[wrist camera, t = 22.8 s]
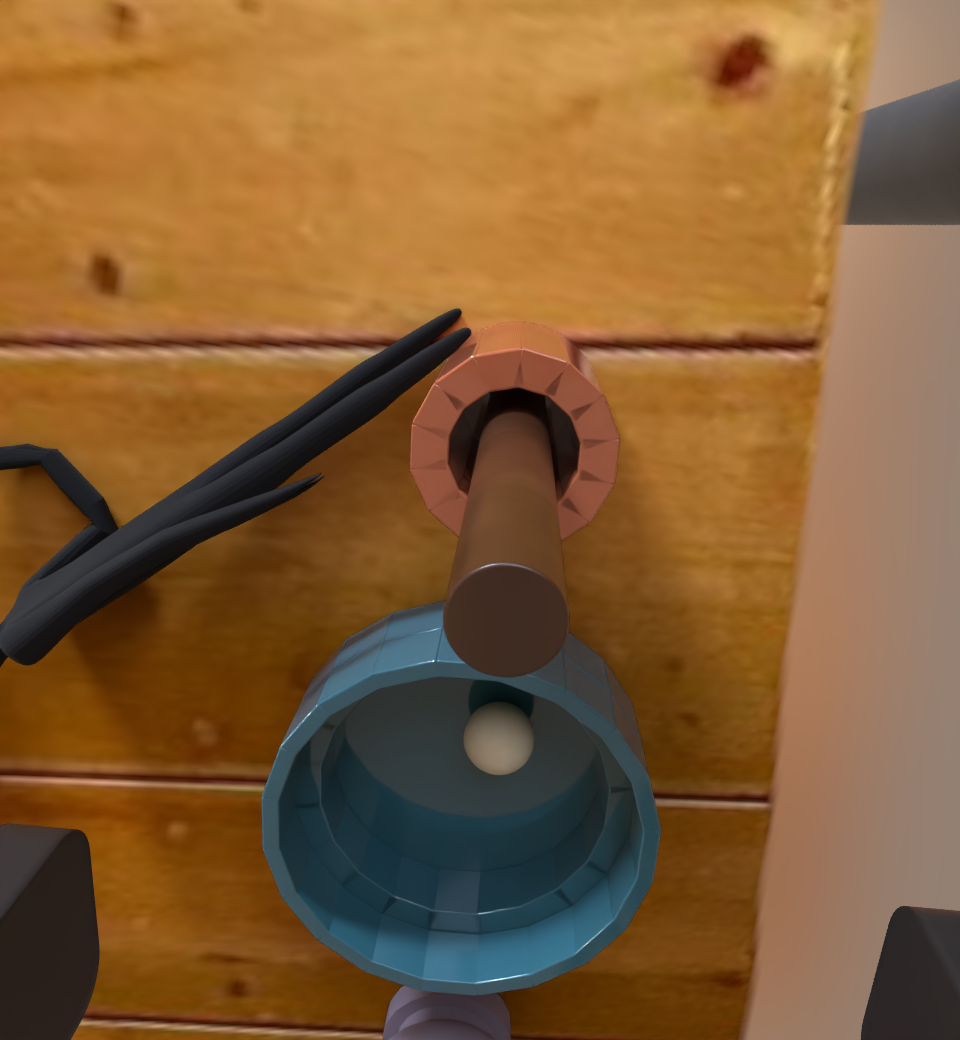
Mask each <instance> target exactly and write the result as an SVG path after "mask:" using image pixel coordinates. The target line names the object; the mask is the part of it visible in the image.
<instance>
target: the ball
mask: <svg viewBox="0 0 960 1040" xmlns="http://www.w3.org/2000/svg"><path fill="white" fill-rule="evenodd" d="M534 743H535V734H534V729H533V726H532V723H531V721H530V719H529V718H528V716H527V715H526V714H525V713H524V712H523V711H522V710H521V709H520V708H518V707H517V706H515V705H513V704H510V703H507V702H492V703H488V704H485V705H483V706H481V707H480V708H478V709H477V710H476V711H475V712H474V713H473V714H472V715H471V716H470V718H469V719H468V721H467V723H466V726H465V730H464V747H465V750H466V753H467V755H468V757H469V759H470V760H471V761H472V763H473V764H474V765H475V766H477V767H478V768H479V769H481V770H482V771H484V772H486V773H489V774H493V775H506V774H510V773H512V772H515V771H516V770H518V769H520V768H521V767H522V766H523V765H524V764H525V763H526V762H527V761H528V759H529V758H530V756H531V754H532V751H533V748H534Z"/></svg>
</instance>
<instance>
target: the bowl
mask: <svg viewBox="0 0 960 1040" xmlns="http://www.w3.org/2000/svg"><path fill="white" fill-rule="evenodd" d="M444 605H445V601H443V602H438V603H433V604H429V605H424V606H420V607H415V608H411V609H406V610H401V611H397V612H393V613H391V614H389V615H387V616H386V617H384V618H382V619H380V620H379V621H377V622H375V623H374V624H372V625H370V626H368V627H367V628H365V629H363V630H361V631H360V632H358V633H356V634H354V635H353V636H351V637H349V638H348V639H346V640H345V641H344V642H343V643H342V644H341V645H340V647H339V648H338V649H337V650H336V651H335V652H334V654H333V655H332V656H331V657H330V658H329V659H328V660H327V662H326V663H325V664H324V665H323V666H322V667H321V669H320V670H319V671H318V672H317V673H316V674H315V675H314V677H313V678H312V680H311V682H310V684H309V686H308V688H307V690H306V693H305V695H304V697H303V699H302V701H301V703H300V705H299V707H298V710H297V712H296V714H295V716H294V718H293V720H292V722H291V724H290V727H289V729H288V731H287V733H286V735H285V737H284V739H283V741H282V743H281V746H280V748H279V750H278V753H277V756H276V759H275V761H274V764H273V767H272V769H271V772H270V775H269V777H268V780H267V783H266V785H265V788H264V791H263V794H262V843H263V852H264V854H265V857H266V859H267V862H268V864H269V867H270V869H271V872H272V874H273V877H274V879H275V882H276V884H277V887H278V889H279V892H280V894H281V897H282V898H283V900H284V901H285V903H286V904H287V905H288V906H289V907H290V908H291V910H292V911H293V912H294V913H295V914H296V916H297V917H298V918H299V919H300V920H301V922H302V923H303V924H304V925H305V926H306V928H307V929H308V930H309V931H310V932H311V933H312V935H313V936H314V937H315V938H316V939H317V940H318V941H319V942H321V943H322V944H324V945H325V946H327V947H328V948H330V949H331V950H333V951H334V952H336V953H337V954H339V955H340V956H342V957H343V958H345V959H346V960H348V961H349V962H351V963H352V964H354V965H355V966H357V967H358V968H360V969H361V970H363V971H365V972H366V973H369V974H372V975H375V976H378V977H381V978H384V979H386V980H389V981H392V982H395V983H398V984H401V985H404V986H407V987H410V988H412V989H415V990H420V991H428V992H439V993H450V994H461V995H472V996H477V995H478V996H481V995H487V994H493V993H499V992H506V991H512V990H518V989H525V988H531V987H534V986H538V985H540V984H542V983H544V982H547V981H549V980H551V979H553V978H555V977H558V976H560V975H562V974H564V973H567V972H569V971H571V970H573V969H575V968H578V967H580V966H582V965H584V964H585V963H586V964H587V963H588V962H589V961H590V960H591V959H593V958H594V957H595V956H596V955H597V954H598V953H599V952H601V951H602V950H603V949H604V948H605V947H606V946H608V945H609V944H610V943H611V942H612V941H613V940H614V939H616V938H617V937H618V936H619V935H620V934H621V933H622V932H624V931H625V930H626V929H627V927H628V925H629V924H630V922H631V920H632V918H633V917H634V915H635V913H636V911H637V910H638V908H639V906H640V904H641V903H642V901H643V899H644V897H645V896H646V894H647V892H648V890H649V889H650V887H651V885H652V882H653V880H654V874H655V868H656V861H657V855H658V848H659V842H660V835H661V826H660V821H659V817H658V812H657V808H656V803H655V799H654V794H653V790H652V785H651V781H650V776H649V772H648V767H647V763H646V758H645V754H644V750H643V745H642V741H641V737H640V732H639V728H638V724H637V719H636V715H635V710H634V706H633V704H632V701H631V700H630V698H629V697H628V695H627V694H626V692H625V691H624V689H623V688H622V686H621V684H620V683H619V681H618V680H617V678H616V677H615V675H614V674H613V672H612V671H611V669H610V668H609V666H608V665H607V663H606V661H605V660H603V659H602V658H601V657H600V656H599V655H597V654H596V653H595V652H594V651H592V650H591V649H590V648H589V647H587V646H586V645H585V644H583V643H582V642H581V641H580V640H578V639H577V638H576V637H575V636H573V635H572V634H571V633H570V632H568V635H567V638H566V641H565V643H564V645H563V647H562V648H561V650H560V651H559V653H558V654H557V655H556V656H555V657H554V659H552V660H551V661H550V662H549V663H548V664H547V665H545V666H544V667H542V668H541V669H539V670H537V671H535V672H533V673H530V674H527V675H523V676H519V677H511V678H507V677H495V676H491V675H487V674H484V673H481V672H479V671H477V670H475V669H473V668H471V667H470V666H469V665H467V664H466V663H465V662H463V661H462V660H461V659H460V658H459V657H458V656H457V655H456V653H455V652H454V651H453V649H452V648H451V646H450V645H449V642H448V640H447V638H446V635H445V632H444V627H443V610H444ZM492 702H507V703H510V704H513V705H515V706H517V707H518V708H520V709H521V710H522V711H523V712H524V713H525V714H526V715H527V716H528V718H529V719H530V721H531V723H532V726H533V729H534V734H535V743H534V748H533V751H532V754H531V756H530V758H529V759H528V761H527V762H526V763H525V764H524V765H523V766H522V767H521V768H520V769H518V770H516V771H515V772H512V773H510V774H506V775H493V774H489V773H486V772H484V771H482V770H481V769H479V768H478V767H477V766H475V765H474V764H473V763H472V761H471V760H470V759H469V757H468V755H467V753H466V750H465V747H464V730H465V726H466V723H467V721H468V719H469V718H470V716H471V715H472V714H473V713H474V712H475V711H476V710H477V709H478V708H480V707H481V706H483V705H485V704H488V703H492Z"/></svg>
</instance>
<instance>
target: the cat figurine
mask: <svg viewBox="0 0 960 1040" xmlns="http://www.w3.org/2000/svg"><path fill="white" fill-rule="evenodd" d="M383 1040H511V1025H510V1013H509V1011H508V1009H507V1007H506V1005H505V1003H504V1001H503V999H502V998H501V997H500V996H499V995H498V994H497V993H493V994H487V995H481V996H478V995H477V996H472V995H461V994H450V993H439V992H428V991H420V990H415V989H412V988H410V987H407V986H402V987H401V988H400V989H399V990H398V992H397V993H396V994H395V995H394V997H393V998H392V999H391V1001H390V1005H389V1008H388V1012H387V1016H386V1021H385V1027H384V1033H383Z"/></svg>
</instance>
